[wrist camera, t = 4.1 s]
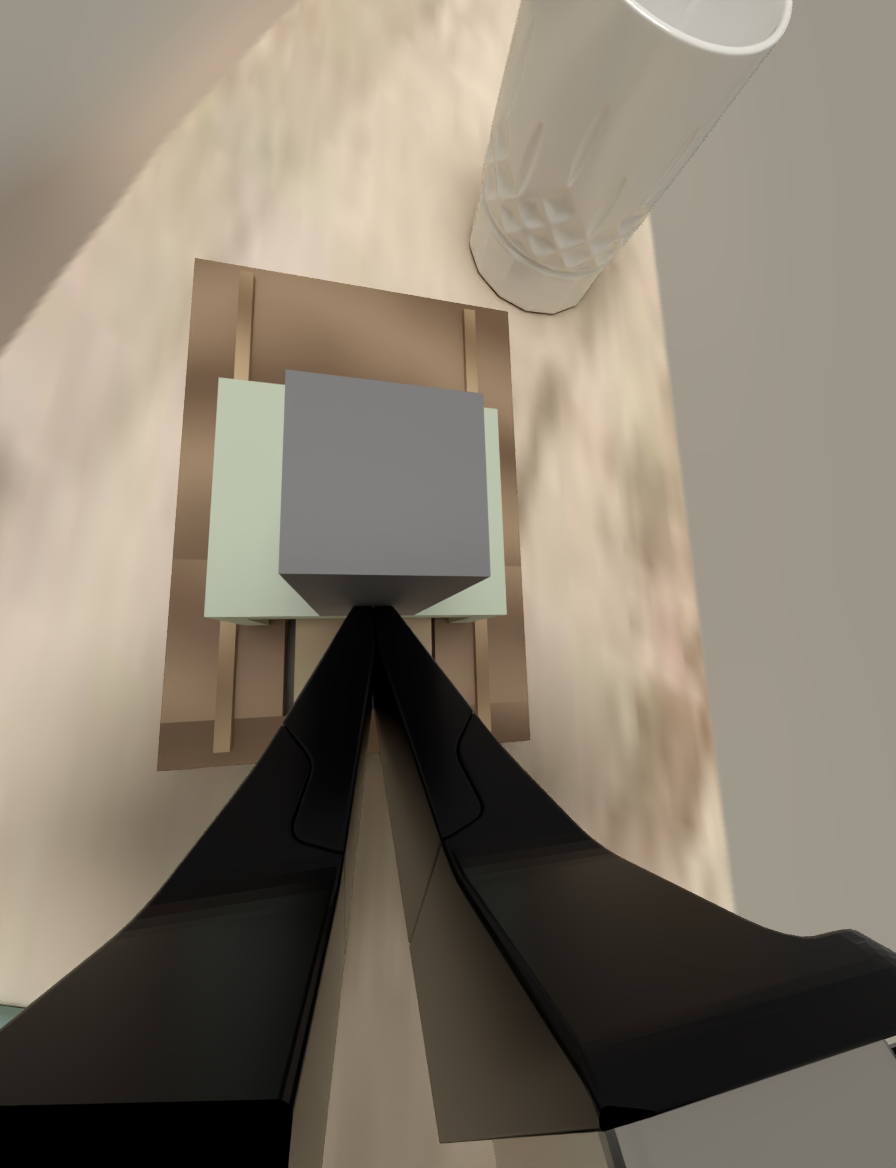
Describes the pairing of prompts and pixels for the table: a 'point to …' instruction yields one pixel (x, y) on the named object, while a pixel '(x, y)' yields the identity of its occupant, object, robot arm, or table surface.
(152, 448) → the table surface
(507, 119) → the white cup
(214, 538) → the sliding cover
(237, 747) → the puzzle board
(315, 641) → the block
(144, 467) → the table surface
